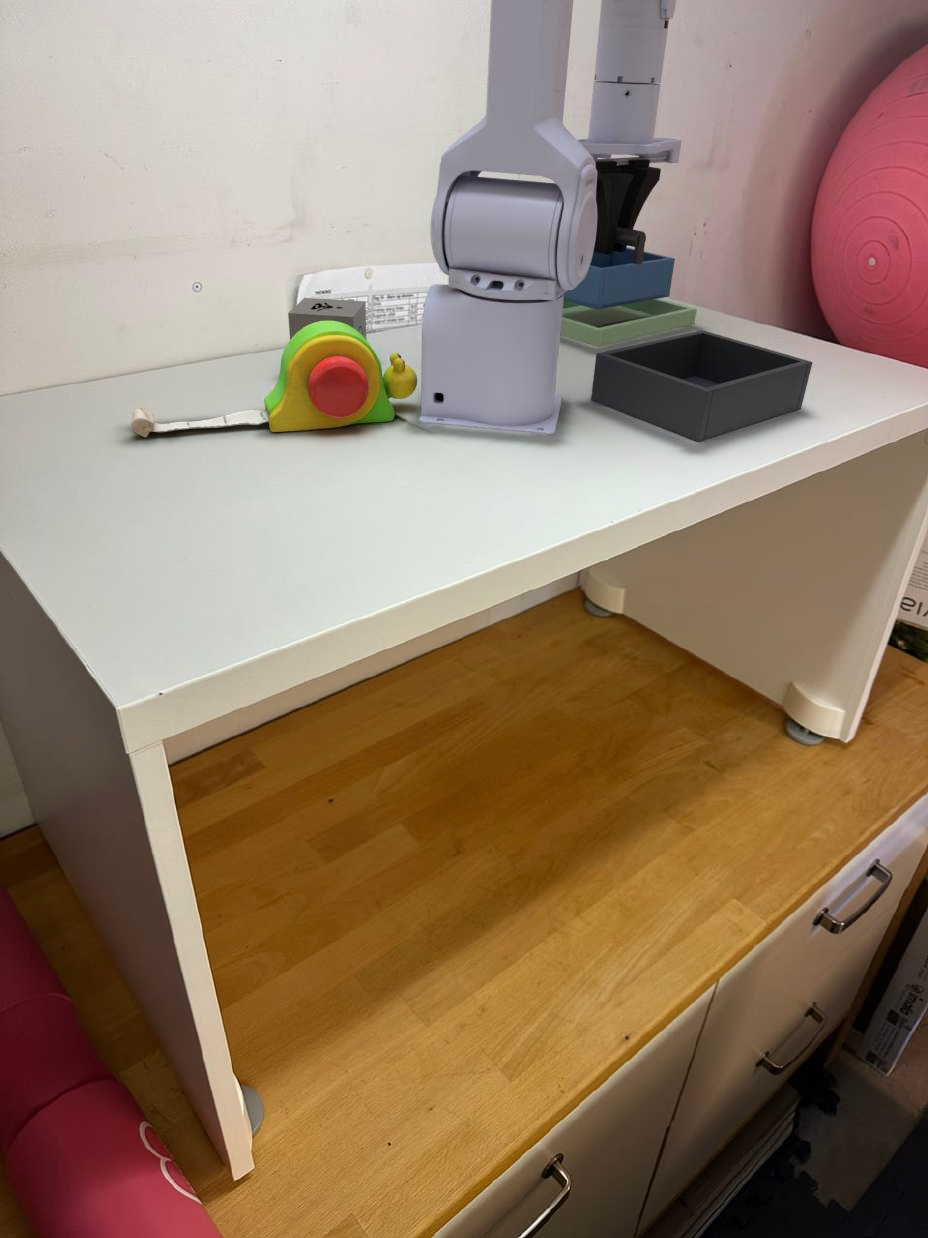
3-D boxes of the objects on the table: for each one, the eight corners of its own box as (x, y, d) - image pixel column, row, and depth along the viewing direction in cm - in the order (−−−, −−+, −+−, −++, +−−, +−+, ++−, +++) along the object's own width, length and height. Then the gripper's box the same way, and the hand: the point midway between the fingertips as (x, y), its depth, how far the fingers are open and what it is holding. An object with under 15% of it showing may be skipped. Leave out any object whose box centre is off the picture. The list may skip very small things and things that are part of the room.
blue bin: (596, 309, 80) (605, 236, 77) (537, 291, 85) (542, 222, 82) (669, 296, 86) (680, 227, 82) (609, 280, 91) (616, 214, 87)
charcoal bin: (696, 448, 60) (707, 391, 58) (589, 406, 67) (595, 352, 65) (799, 414, 67) (813, 361, 65) (693, 378, 74) (701, 329, 71)
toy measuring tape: (427, 429, 62) (429, 333, 58) (133, 451, 57) (115, 348, 53) (406, 399, 67) (406, 309, 63) (134, 417, 62) (117, 320, 58)
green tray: (596, 351, 79) (599, 329, 78) (504, 321, 87) (505, 301, 86) (693, 328, 87) (697, 308, 86) (601, 302, 95) (603, 284, 94)
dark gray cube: (308, 359, 74) (304, 297, 72) (367, 363, 74) (365, 301, 71) (292, 377, 70) (288, 312, 67) (355, 381, 70) (353, 316, 67)
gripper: (602, 84, 70) (583, 266, 77) (717, 85, 77) (690, 251, 85) (540, 79, 74) (528, 252, 82) (655, 81, 82) (635, 239, 89)
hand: (607, 251), depth 83 cm, fingers closed on blue bin
